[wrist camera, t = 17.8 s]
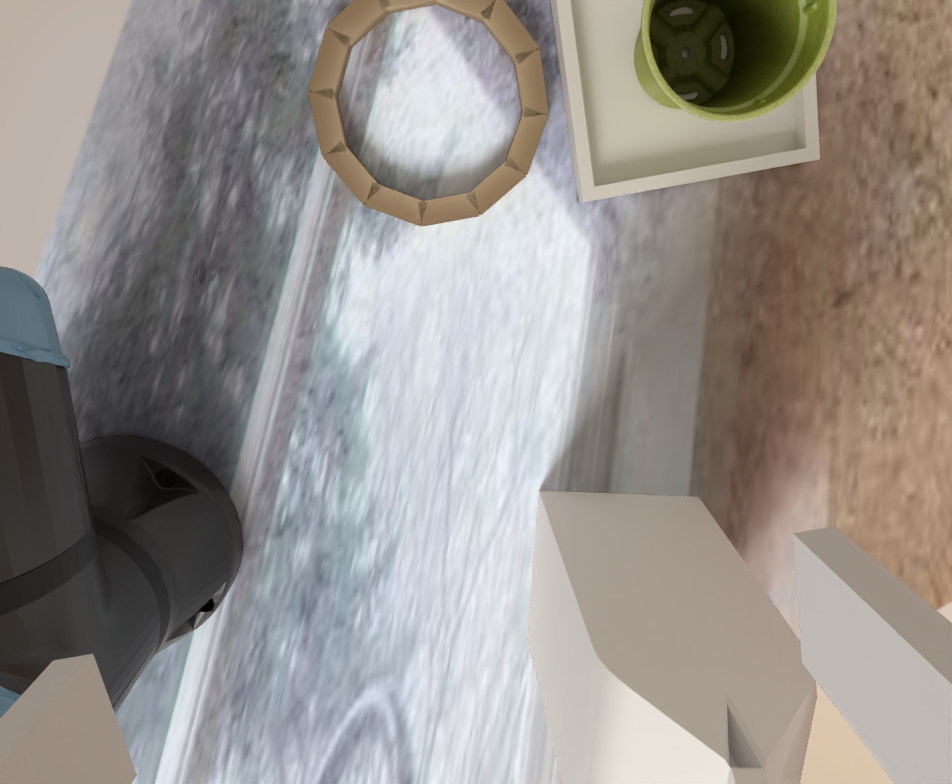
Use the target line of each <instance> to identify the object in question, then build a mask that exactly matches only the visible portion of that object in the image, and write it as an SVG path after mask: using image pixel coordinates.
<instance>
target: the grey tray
mask: <svg viewBox="0 0 952 784" xmlns="http://www.w3.org/2000/svg"><path fill="white" fill-rule="evenodd" d="M550 1H551V8H552V15H553V23H554V30H555V38H556V45H557V53H558V60H559V67H560V75H561V82H562V90H563V97H564V105H565V112H566V119H567V127H568V134H569V142H570V149H571V157H572V164H573V171H574V179H575V186H576V194H577V201H578V203H582V202H588V201H594V200H599V199H605V198H610V197H616V196H621V195H627V194H632V193H638V192H643V191H649V190H654V189H660V188H665V187H671V186H676V185H682V184H687V183H693V182H698V181H704V180H709V179H715V178H720V177H726V176H731V175H737V174H742V173H748V172H753V171H759V170H764V169H770V168H775V167H781V166H786V165H792V164H797V163H803V162H808V161H814V160H819V159H820V148H819V128H818V108H817V88H816V73H815V74H814V76H813V77H812V78H811V79H810V81H809V82H808V83H807V84H806V85H805V86H804V87H803V89H802V90H801V91H800V92H799V93H797V94H796V95H795V96H794V97H793V98H792V99H790V100H789V101H788V102H786V103H785V104H783V105H782V106H780V107H779V108H777V109H775V110H773V111H771V112H769V113H767V114H765V115H762V116H760V117H757V118H753V119H750V120H745V121H738V122H717V121H711V120H706V119H703V118H700V117H697V116H695V115H692V114H690V113H688V112H687V111H685V110H683V109H674V108H669V107H666V106H663V105H661V104H659V103H658V102H657V101H655V100H654V99H653V98H652V97H650V96H649V95H648V94H647V93H646V91H645V90H644V89H643V88H642V86H641V84H640V82H639V80H638V78H637V74H636V71H635V66H634V50H635V44H636V40H637V37H638V34H639V31H640V29H641V17H642V8H643V2H644V0H550ZM691 13H693V9H691V8H689V7H682V8H678V9H676V10H674V11H672V12H671V14H670V16H673V15H675V16H676V15H680V14H691ZM720 39H721V45H722V50H721V59H725V57H726V56H727V44H726V38H725V37H724V36H723V35H721V36H720ZM689 55H690V50H689V49H687V48H685V49H684V50H683V51H682V56H683V57H685V58H687V57H689ZM698 94H699V92H698V91H694V92H692V93H688V94H677V95H678V96H680V97H681V98H682V99H683V100H686V99H694V98H695V97H697V96H698Z"/></svg>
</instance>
